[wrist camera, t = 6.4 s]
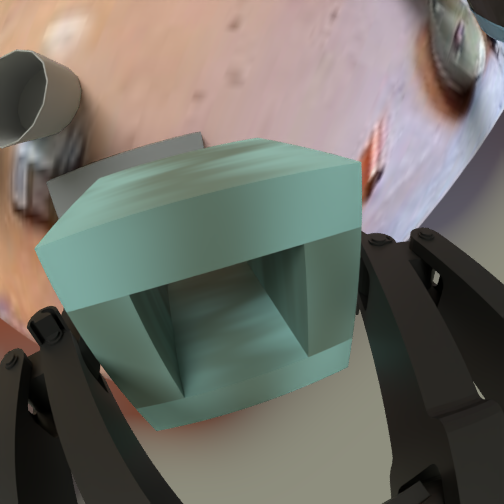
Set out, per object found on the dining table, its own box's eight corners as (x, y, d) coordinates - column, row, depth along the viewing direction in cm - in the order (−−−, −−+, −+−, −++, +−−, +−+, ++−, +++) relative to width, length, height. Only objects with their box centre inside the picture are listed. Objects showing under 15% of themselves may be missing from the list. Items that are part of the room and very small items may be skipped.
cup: (26, 69, 18) (-18, 58, 9) (87, 63, 21) (56, 42, 12) (17, 139, 21) (-30, 152, 13) (75, 136, 24) (40, 145, 16)
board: (199, 131, 28) (200, 132, 27) (228, 270, 37) (231, 275, 36) (51, 179, 25) (46, 182, 24) (103, 305, 34) (101, 312, 33)
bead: (257, 137, 13) (360, 162, 6) (275, 272, 17) (347, 367, 10) (98, 178, 12) (34, 248, 5) (147, 310, 16) (156, 430, 9)
